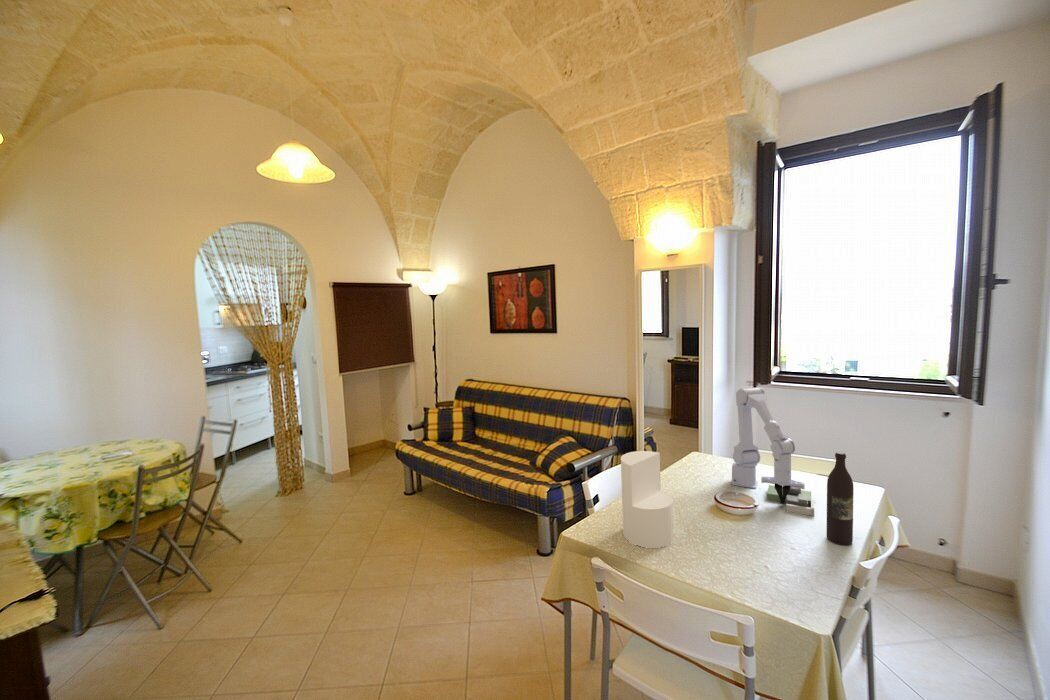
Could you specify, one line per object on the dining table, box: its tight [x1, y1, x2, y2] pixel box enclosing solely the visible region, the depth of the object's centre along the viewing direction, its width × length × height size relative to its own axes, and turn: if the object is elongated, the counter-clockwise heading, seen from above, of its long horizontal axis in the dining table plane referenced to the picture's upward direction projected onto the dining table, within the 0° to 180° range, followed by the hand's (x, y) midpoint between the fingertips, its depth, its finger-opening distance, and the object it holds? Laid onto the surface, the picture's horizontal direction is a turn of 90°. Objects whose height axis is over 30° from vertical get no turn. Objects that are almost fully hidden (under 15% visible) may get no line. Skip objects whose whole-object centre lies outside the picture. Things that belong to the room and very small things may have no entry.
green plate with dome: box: [766, 484, 815, 517], centre depth 171 cm, size 16×17×4 cm
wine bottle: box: [826, 451, 854, 546], centre depth 142 cm, size 7×7×30 cm
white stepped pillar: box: [620, 450, 675, 549], centre depth 151 cm, size 17×17×28 cm
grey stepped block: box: [785, 494, 808, 507], centre depth 167 cm, size 7×5×5 cm
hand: (782, 502), depth 169 cm, fingers closed
